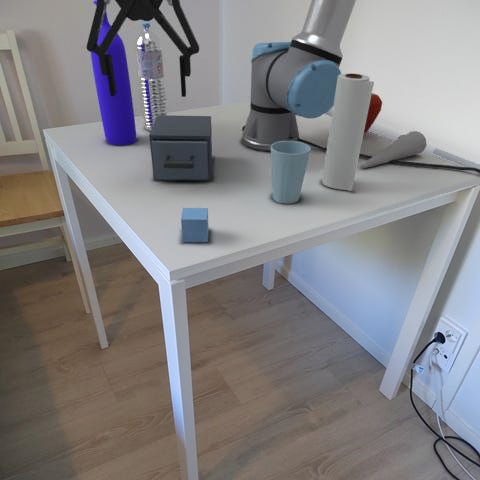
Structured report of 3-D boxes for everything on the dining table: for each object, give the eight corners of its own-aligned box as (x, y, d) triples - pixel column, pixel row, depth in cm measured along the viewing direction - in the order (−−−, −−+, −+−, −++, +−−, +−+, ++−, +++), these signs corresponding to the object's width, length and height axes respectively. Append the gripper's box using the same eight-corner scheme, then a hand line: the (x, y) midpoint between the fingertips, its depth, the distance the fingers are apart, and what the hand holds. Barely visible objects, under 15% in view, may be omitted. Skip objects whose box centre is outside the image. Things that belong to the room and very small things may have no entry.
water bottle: (156, 123, 126) (146, 20, 110) (173, 128, 123) (165, 23, 107) (139, 128, 121) (126, 22, 105) (156, 133, 119) (145, 25, 102)
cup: (259, 196, 89) (262, 145, 82) (285, 187, 93) (290, 137, 86) (285, 209, 84) (290, 156, 78) (311, 199, 88) (318, 148, 82)
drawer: (207, 189, 89) (206, 151, 84) (152, 188, 88) (148, 150, 83) (209, 157, 103) (208, 123, 98) (161, 157, 102) (158, 122, 97)
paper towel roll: (320, 178, 97) (335, 71, 83) (346, 178, 97) (366, 72, 83) (323, 191, 92) (341, 79, 78) (351, 192, 92) (374, 80, 78)
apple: (381, 140, 119) (392, 92, 111) (346, 142, 116) (355, 94, 109) (363, 128, 127) (372, 83, 119) (330, 130, 124) (337, 84, 117)
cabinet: (211, 180, 95) (210, 135, 88) (154, 180, 94) (149, 135, 88) (211, 157, 106) (211, 116, 99) (161, 156, 105) (156, 115, 99)
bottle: (130, 147, 110) (109, 2, 90) (100, 144, 111) (73, 1, 91) (142, 137, 116) (125, 0, 96) (113, 134, 117) (91, -2, 98)
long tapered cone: (383, 158, 96) (428, 132, 105) (359, 154, 100) (404, 129, 109) (381, 182, 100) (424, 156, 109) (358, 177, 104) (402, 152, 113)
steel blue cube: (208, 230, 77) (207, 207, 75) (207, 242, 74) (207, 219, 71) (184, 230, 77) (182, 207, 74) (182, 242, 74) (180, 219, 71)
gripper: (210, -47, 73) (212, 90, 87) (61, -51, 71) (88, 89, 85) (210, -47, 67) (212, 100, 81) (49, -52, 66) (79, 98, 80)
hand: (149, 95), depth 83 cm, fingers open, 13 cm apart
